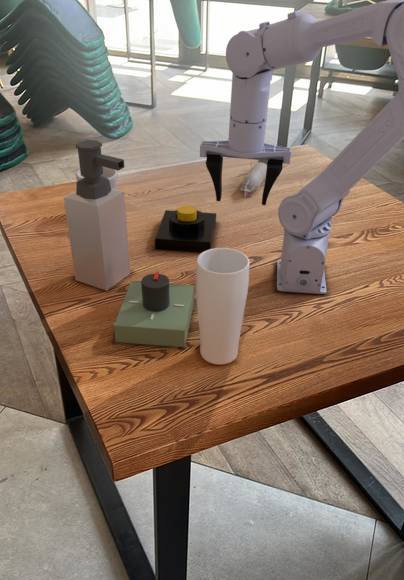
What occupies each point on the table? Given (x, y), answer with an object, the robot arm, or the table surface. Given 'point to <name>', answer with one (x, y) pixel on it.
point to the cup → (107, 173)
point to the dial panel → (155, 318)
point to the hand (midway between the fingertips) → (241, 200)
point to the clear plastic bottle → (254, 177)
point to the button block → (186, 232)
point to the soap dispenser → (97, 221)
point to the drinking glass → (221, 302)
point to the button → (186, 213)
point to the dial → (155, 292)
